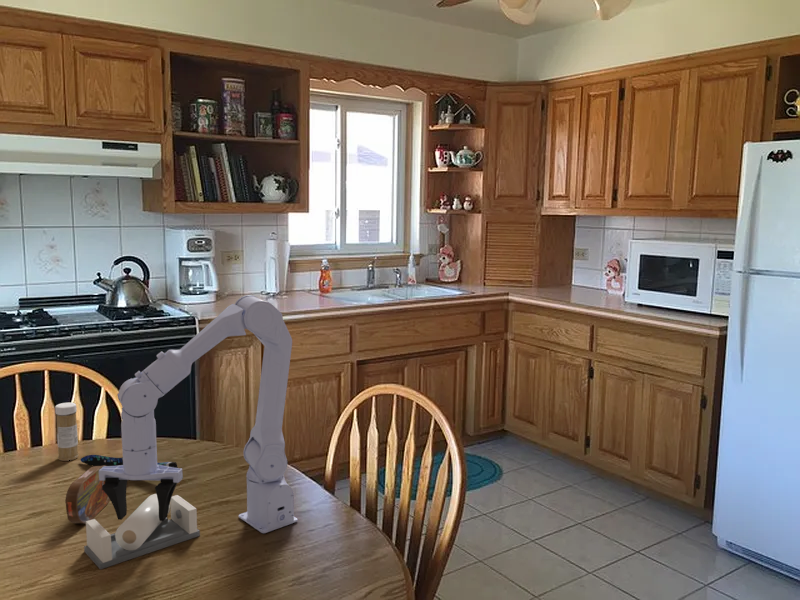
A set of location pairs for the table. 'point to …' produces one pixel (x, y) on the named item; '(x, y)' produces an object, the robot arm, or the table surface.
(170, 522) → the holder
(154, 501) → the cylinder
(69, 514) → the tin
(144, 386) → the robot arm
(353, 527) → the table surface
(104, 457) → the knife
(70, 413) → the sprinkles bottle
